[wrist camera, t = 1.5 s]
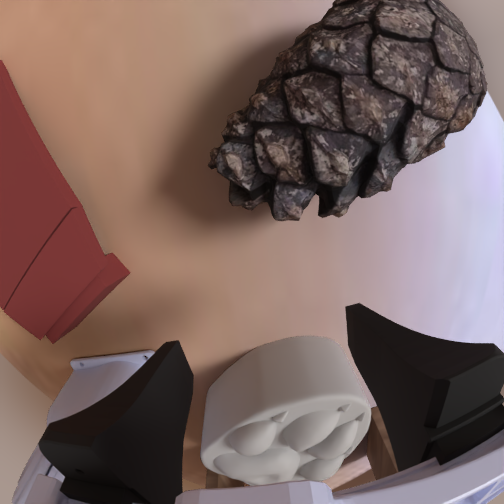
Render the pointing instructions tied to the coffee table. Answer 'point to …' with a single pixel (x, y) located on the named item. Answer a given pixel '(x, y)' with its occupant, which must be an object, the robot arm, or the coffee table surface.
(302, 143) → the pine cone
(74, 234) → the carton
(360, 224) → the coffee table surface
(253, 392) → the lumpy-topped squat cylinder
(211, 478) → the walnut shelf
